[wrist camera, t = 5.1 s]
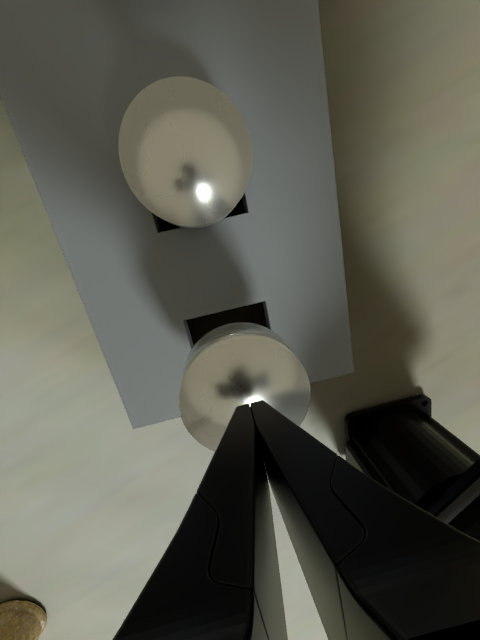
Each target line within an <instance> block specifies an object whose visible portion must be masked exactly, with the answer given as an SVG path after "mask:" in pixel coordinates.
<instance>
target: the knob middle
mask: <svg viewBox="0 0 480 640" xmlns="http://www.w3.org/2000/svg"><path fill="white" fill-rule="evenodd" d="M118 150H119V158H120V163H121V167H122V171H123V174H124V176H125V179H126V181H127V183H128V185H129V187H130V189H131V190H132V192H133V193H134V195H135V196H136V197H137V199H138V200H139V201H140V202H141V203H142V204H143V205H144V206H145V207H146V208H147V209H148V210H149V211H151V212H152V213H153V214H155V215H156V216H158V217H160V218H162V219H163V220H165V221H167V222H169V223H172V224H174V225H177V226H180V227H184V228H203V227H207V226H210V225H213V224H215V223H217V222H219V221H220V220H222V219H224V218H225V217H226V216H227V215H228V214H229V213H230V212H231V211H232V210H233V209H234V207H235V206H236V205H237V203H238V202H239V201H240V199H241V198H242V196H243V194H244V192H245V190H246V189H247V186H248V183H249V180H250V176H251V172H252V164H253V151H252V143H251V138H250V134H249V131H248V128H247V125H246V123H245V121H244V119H243V117H242V115H241V113H240V112H239V110H238V109H237V107H236V106H235V105H234V104H233V102H232V101H231V100H230V99H229V98H228V97H227V96H226V95H225V94H224V93H223V92H221V91H220V90H219V89H217V88H216V87H214V86H213V85H211V84H209V83H207V82H205V81H202V80H199V79H196V78H191V77H183V76H176V77H168V78H164V79H161V80H158V81H156V82H154V83H152V84H150V85H149V86H147V87H146V88H144V89H143V90H142V91H141V92H140V93H139V94H137V95H136V97H135V98H134V99H133V100H132V102H131V103H130V105H129V107H128V108H127V110H126V112H125V114H124V117H123V119H122V123H121V127H120V131H119V139H118Z"/></svg>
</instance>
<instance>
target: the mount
mask: <svg viewBox="0 0 480 640" xmlns="http://www.w3.org/2000/svg"><path fill="white" fill-rule="evenodd" d="M176 76H183V77H191V78H196V79H199V80H202V81H205V82H207V83H209V84H211V85H213V86H214V87H216V88H217V89H219V90H220V91H221V92H223V93H224V94H225V95H226V96H227V97H228V98H229V99H230V100H231V101H232V102H233V104H234V105H235V106H236V107H237V109H238V110H239V112H240V113H241V115H242V117H243V119H244V121H245V123H246V125H247V128H248V131H249V134H250V138H251V143H252V151H253V164H252V172H251V176H250V180H249V183H248V186H247V189H246V190H245V192H244V194H243V196H242V199H243V204H244V209H245V214H241V215H236V216H232V217H227V218H224V219H222V220H220V221H219V222H217V223H215V224H213V225H210V226H207V227H203V228H184V227H182V228H178V229H173V230H169V231H164V232H161V230H160V227H159V224H158V220H157V217H156V215H155V214H153V213H152V212H151V211H149V210H148V209H147V208H146V207H145V206H144V205H143V204H142V203H141V202H140V201H139V200H138V199H137V197H136V196H135V195H134V193H133V192H132V190H131V189H130V187H129V185H128V183H127V181H126V179H125V176H124V174H123V171H122V167H121V163H120V158H119V150H118V139H119V131H120V127H121V123H122V119H123V117H124V114H125V112H126V110H127V108H128V107H129V105H130V103H131V102H132V100H133V99H134V98H135V97H136V95H137V94H139V93H140V92H141V91H142V90H143V89H144V88H146V87H147V86H149V85H150V84H152V83H154V82H156V81H158V80H161V79H164V78H168V77H176ZM0 97H1V99H2V102H3V104H4V107H5V109H6V112H7V114H8V117H9V119H10V122H11V124H12V127H13V129H14V132H15V134H16V137H17V139H18V142H19V144H20V147H21V149H22V152H23V154H24V157H25V159H26V162H27V164H28V167H29V169H30V172H31V174H32V177H33V179H34V182H35V184H36V187H37V189H38V192H39V194H40V197H41V199H42V202H43V204H44V207H45V209H46V212H47V214H48V217H49V219H50V222H51V224H52V227H53V229H54V232H55V234H56V237H57V239H58V242H59V244H60V247H61V249H62V252H63V254H64V257H65V259H66V262H67V264H68V267H69V269H70V272H71V274H72V277H73V279H74V282H75V284H76V287H77V289H78V292H79V294H80V297H81V299H82V302H83V304H84V307H85V309H86V312H87V314H88V317H89V319H90V322H91V324H92V327H93V329H94V332H95V334H96V337H97V339H98V342H99V344H100V347H101V349H102V352H103V354H104V357H105V359H106V362H107V364H108V367H109V369H110V372H111V374H112V377H113V379H114V382H115V384H116V387H117V389H118V392H119V394H120V397H121V399H122V402H123V404H124V407H125V409H126V412H127V414H128V417H129V419H130V422H131V424H132V427H133V429H135V428H139V427H143V426H147V425H151V424H155V423H159V422H163V421H166V420H170V419H174V418H178V417H181V414H180V410H179V394H180V388H181V383H182V378H183V372H184V367H185V362H186V360H187V357H188V355H189V353H190V351H191V349H192V348H193V347H194V345H193V342H192V338H191V335H190V331H189V328H188V324H187V321H186V320H188V319H192V318H196V317H200V316H204V315H209V314H213V313H217V312H221V311H225V310H230V309H234V308H238V307H242V306H246V305H251V304H255V303H259V302H263V307H264V312H265V317H266V322H267V327H268V329H270V330H272V331H273V332H275V333H276V334H278V335H279V336H280V337H281V338H282V339H283V340H284V342H285V343H286V344H287V346H288V347H289V348H290V349H291V351H292V352H293V353H294V355H295V356H296V357H297V359H298V360H299V361H300V362H301V364H302V365H303V367H304V369H305V371H306V373H307V376H308V379H309V383H310V384H311V383H315V382H319V381H323V380H327V379H331V378H335V377H339V376H343V375H347V374H351V373H354V363H353V353H352V342H351V332H350V322H349V312H348V301H347V291H346V281H345V271H344V260H343V250H342V240H341V230H340V219H339V209H338V199H337V189H336V178H335V168H334V158H333V148H332V137H331V127H330V117H329V107H328V96H327V86H326V76H325V66H324V55H323V45H322V35H321V25H320V14H319V4H318V0H0Z"/></svg>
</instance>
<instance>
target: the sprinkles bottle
mask: <svg viewBox="0 0 480 640" xmlns="http://www.w3.org/2000/svg"><path fill="white" fill-rule="evenodd" d="M46 622H47V616H46V614H45V612H44V610H43V609H42V608H40V607H39V606H38V605H36V604H35V603H32V602H29V601H19V600H14V601H8V602H5V603H2V604H0V640H38V638H39V636H40V634H41V633H42V632H43V630H44V628H45V626H46Z"/></svg>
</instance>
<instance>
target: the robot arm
mask: <svg viewBox="0 0 480 640" xmlns="http://www.w3.org/2000/svg"><path fill="white" fill-rule="evenodd" d="M353 419H354V420H353ZM352 420H353V421H352ZM351 421H352V422H351ZM345 427H346V435H347V442H346V443H345V452H346V460H347V461H346V460H344V459H343V458H341V457H340V456H337V454H336V453H334V452H333V451H332V450H330V449H329V448H328V447H326V446H325V445H324V444H322V443H321V442H319V441H318V440H317V439H315V438H314V437H313V436H311V435H310V434H309V433H307V432H306V431H304V430H303V429H302V428H300V427H299V426H298V425H296V424H295V423H294V422H292V421H291V420H290V419H288V418H287V417H285V416H284V415H283V414H281V413H280V412H279V411H277V410H276V409H275V408H273V407H272V406H270V405H269V404H268V403H266V402H265V401H264V400H259V401H255V402H252V403H251V404H250V405H249V404H244V405H240V406H237V407H236V408H235V411H234V413H233V415H232V417H231V419H230V421H229V423H228V426H227V428H226V430H225V432H224V434H223V436H222V438H221V441H220V443H219V445H218V447H217V449H216V451H215V453H214V456H213V458H212V460H211V462H210V464H209V466H208V468H207V470H206V473H205V475H204V477H203V479H202V481H201V483H200V485H199V488H198V490H197V494H195V496H194V498H193V500H192V502H191V504H190V507H189V509H188V511H187V513H186V515H185V517H184V518H183V520H182V522H181V524H180V526H179V528H178V530H177V532H176V534H175V536H174V537H173V539H172V541H171V543H170V544H169V546H168V548H167V550H166V551H165V553H164V555H163V557H162V558H161V560H160V562H159V563H158V565H157V567H156V568H155V570H154V572H153V573H152V575H151V577H150V578H149V580H148V582H147V583H146V585H145V587H144V588H143V590H142V592H141V593H140V595H139V597H138V599H137V600H136V602H135V604H134V605H133V607H132V609H131V610H130V612H129V614H128V615H127V617H126V619H125V620H124V622H123V624H122V625H121V627H120V629H119V630H118V632H117V633H116V635H115V636H114V638H113V640H288V638H287V630H286V622H285V613H284V605H283V597H282V589H281V581H280V573H279V564H278V556H277V548H276V540H275V532H274V524H273V515H272V507H271V499H270V491H269V484H268V480H269V483H270V486H271V488H272V491H273V494H274V496H275V499H276V502H277V504H278V507H279V510H280V512H281V515H282V518H283V520H284V523H285V526H286V528H287V531H288V534H289V536H290V539H291V542H292V544H293V547H294V549H295V552H296V555H297V557H298V560H299V563H300V565H301V568H302V571H303V573H304V576H305V579H306V581H307V584H308V587H309V589H310V592H311V595H312V597H313V600H314V603H315V605H316V608H317V610H318V613H319V616H320V618H321V621H322V624H323V626H324V629H325V632H326V634H327V637H328V640H480V455H479V454H477V453H476V452H475V451H474V450H472V449H471V448H470V447H469V446H467V445H466V444H465V443H463V442H462V441H461V440H460V439H458V438H457V437H456V436H454V435H453V434H452V433H451V432H449V431H448V430H447V429H446V428H444V427H443V426H442V425H440V424H439V423H438V422H437V421H435V420H434V419H433V418H432V417H431V399H430V398H429V397H427V396H426V395H423V394H422V395H417V396H414V397H410V398H406V399H402V400H398V401H395V402H391V403H387V404H383V405H379V406H376V407H372V408H368V409H364V410H360V411H356V412H353V413H350V414H348V415H347V416H346V417H345ZM263 460H264V461H263ZM264 464H265V465H264ZM265 468H266V469H265ZM266 472H267V474H266ZM267 476H268V478H267Z"/></svg>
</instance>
